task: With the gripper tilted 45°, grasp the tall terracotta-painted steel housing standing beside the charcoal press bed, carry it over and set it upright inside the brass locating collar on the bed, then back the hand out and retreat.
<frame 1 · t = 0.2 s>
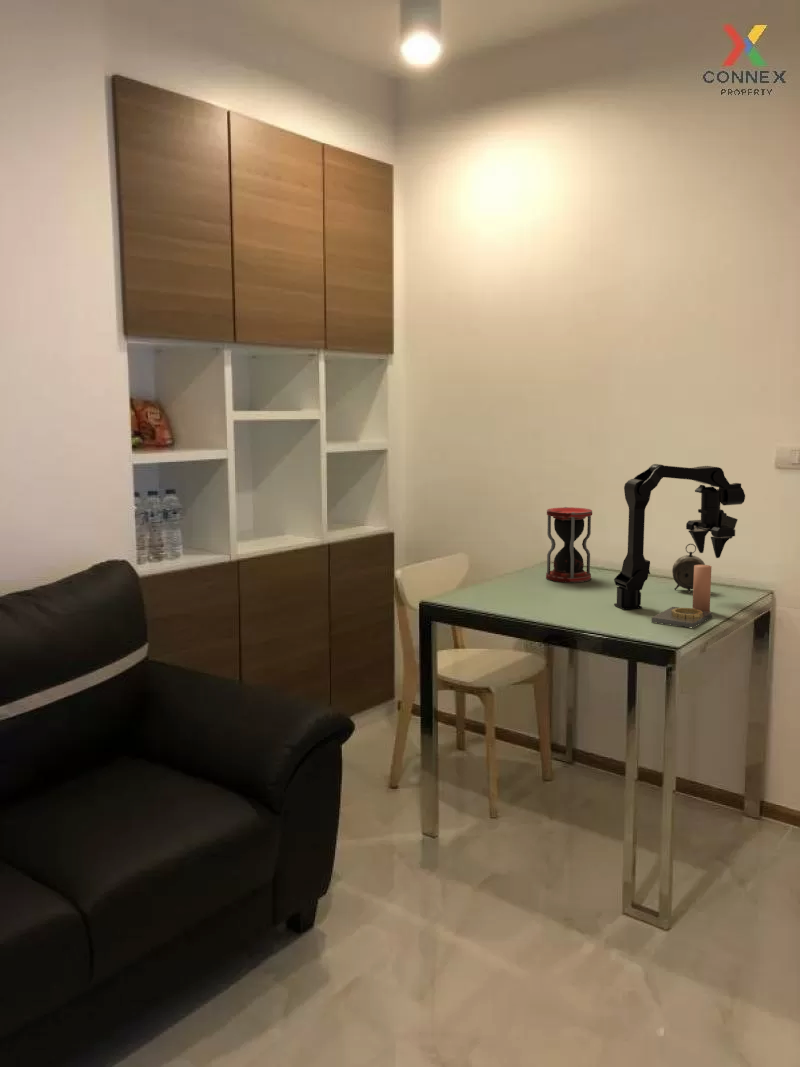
hand: (709, 555, 279), 15 cm above the table, tool pointing down, fingers open, 9 cm apart
alarm clock: (688, 592, 295), on the table
hourglass: (568, 578, 319), on the table
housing: (701, 611, 268), on the table
press bed: (686, 619, 259), on the table
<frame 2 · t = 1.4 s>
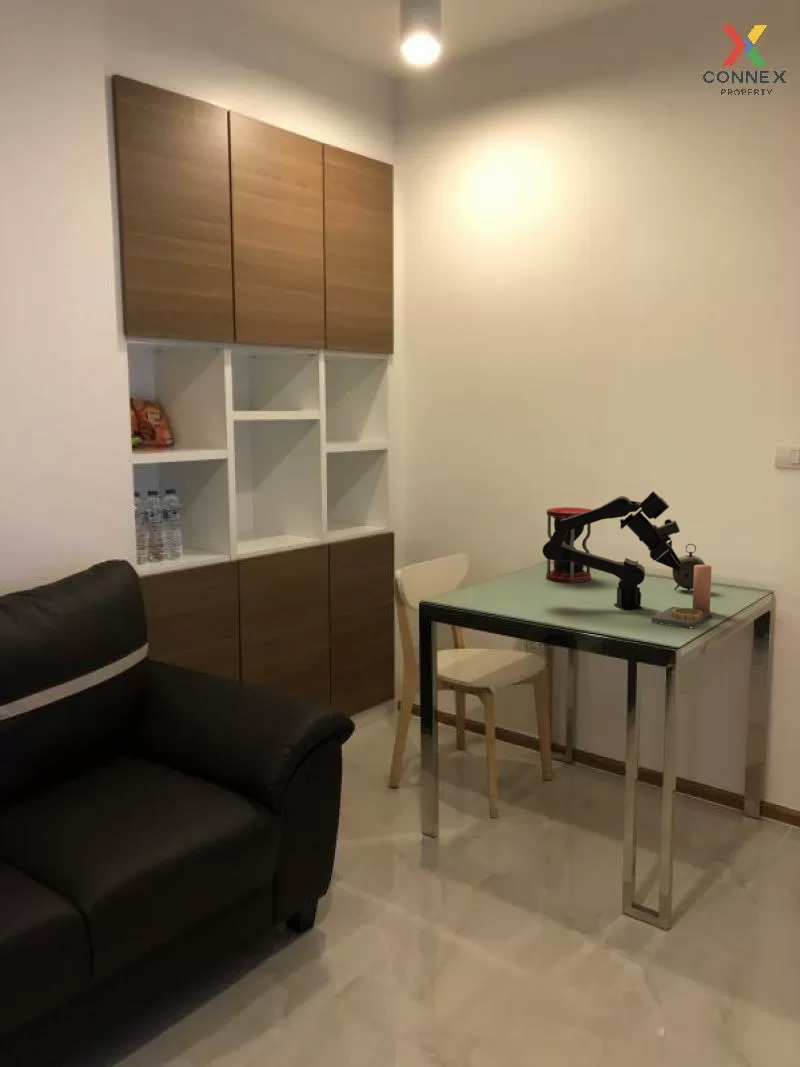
hand: (679, 566, 268), 13 cm above the table, tool tilted 45°, fingers open, 9 cm apart
nothing on the table moved.
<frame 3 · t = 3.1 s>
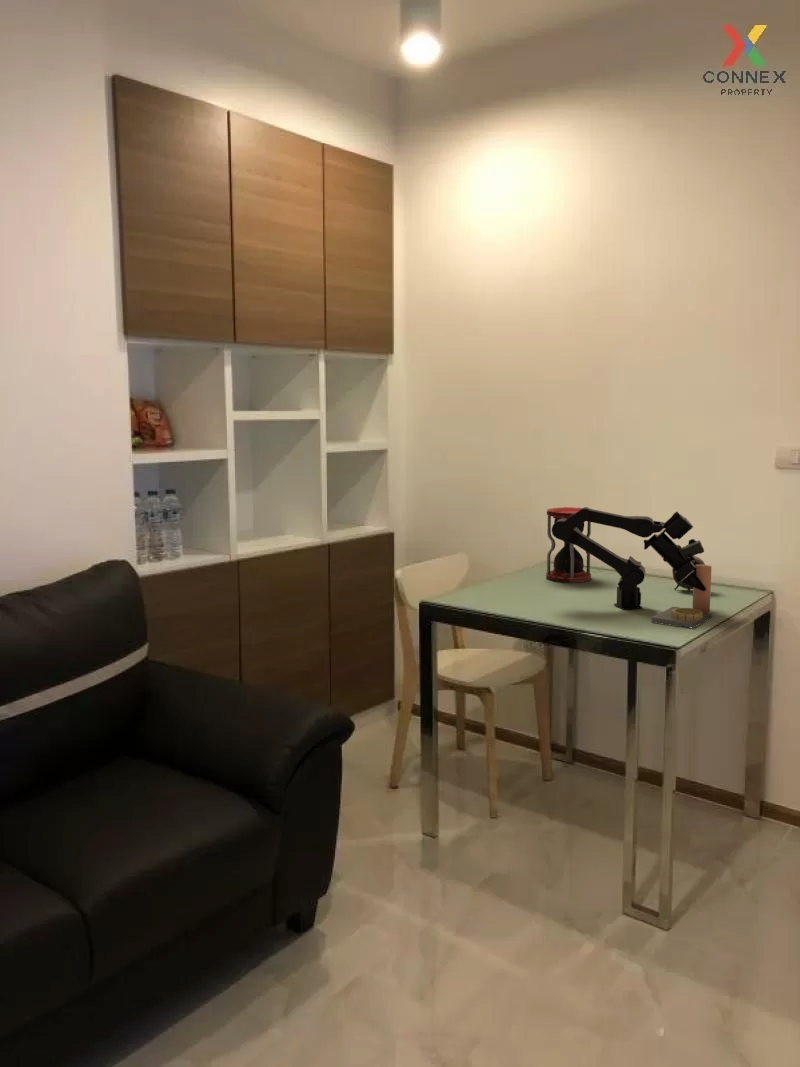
hand: (704, 587, 267), 8 cm above the table, tool tilted 45°, fingers open, 9 cm apart
nothing on the table moved.
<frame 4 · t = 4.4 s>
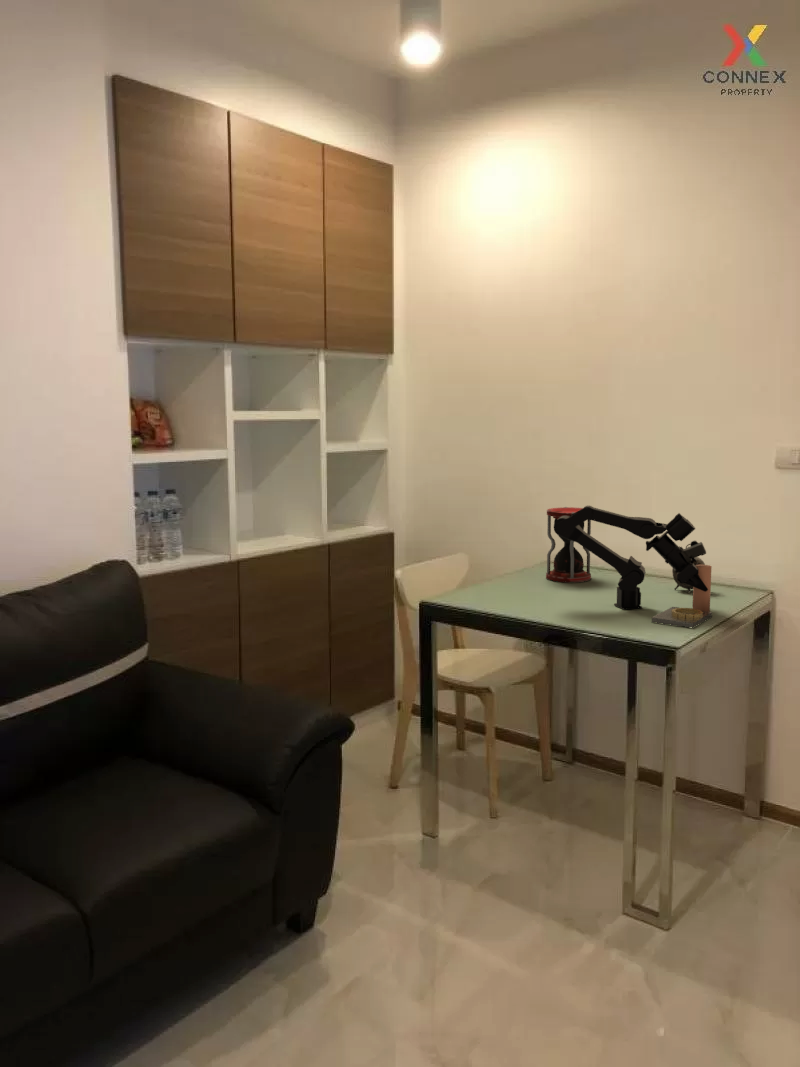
hand: (706, 588, 267), 7 cm above the table, tool tilted 45°, fingers closed on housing, 5 cm apart
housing: (701, 611, 268), on the table, touching gripper
everything else where it was.
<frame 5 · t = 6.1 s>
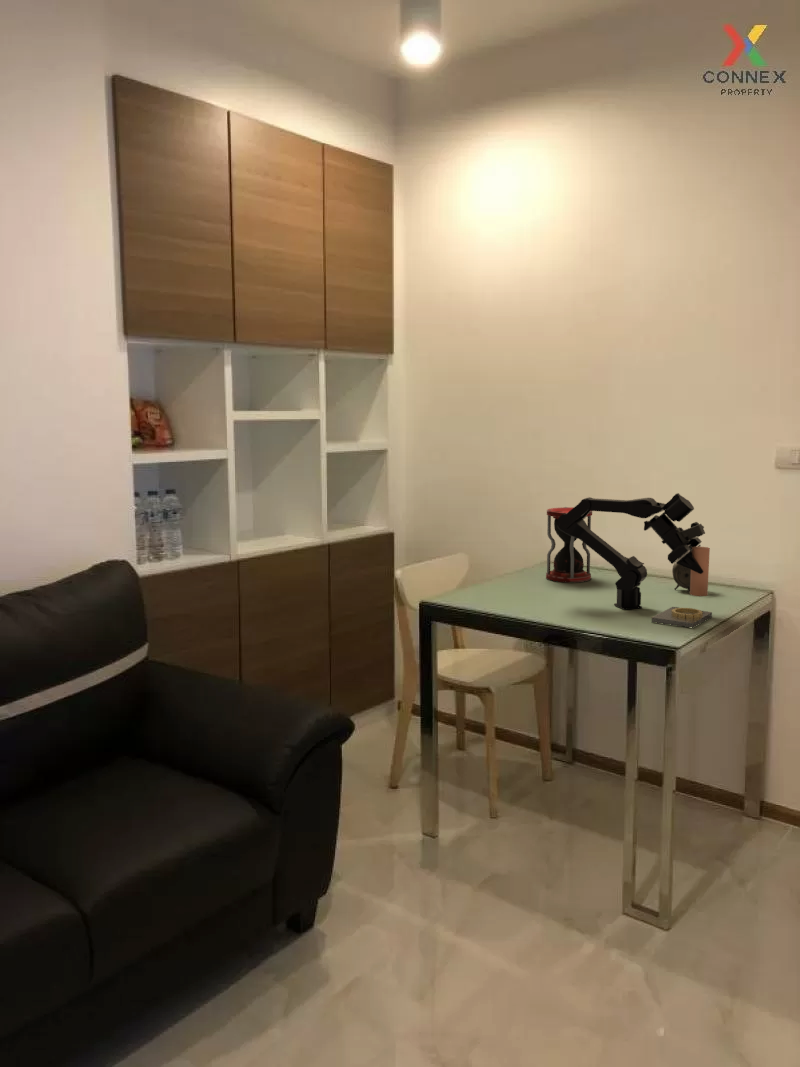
hand: (704, 571, 261), 13 cm above the table, tool tilted 45°, fingers closed on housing, 5 cm apart
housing: (698, 594, 263), point 6 cm above the table, touching gripper
everything else where it was.
when the fingers open (10 cm above the table, at t = 8.2 s): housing drops 1 cm, resting on press bed.
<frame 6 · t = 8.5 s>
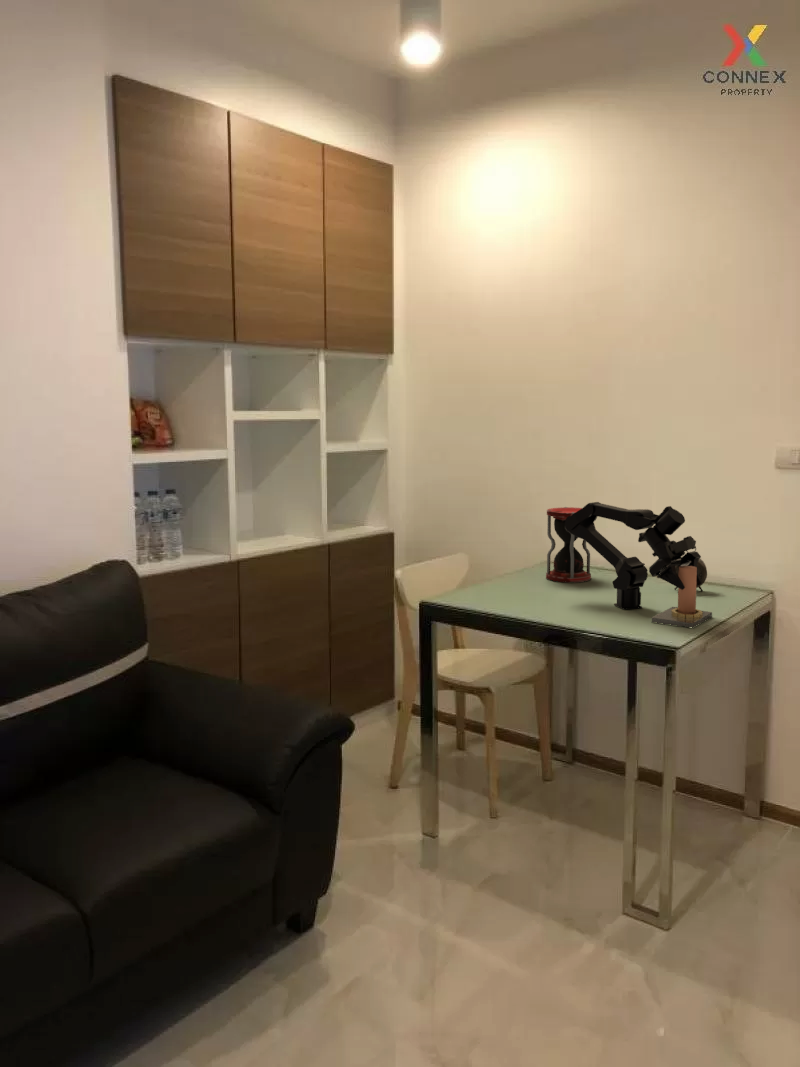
hand: (692, 586, 256), 10 cm above the table, tool tilted 45°, fingers open, 8 cm apart
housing: (686, 614, 259), point 2 cm above the table, touching press bed
everything else where it was.
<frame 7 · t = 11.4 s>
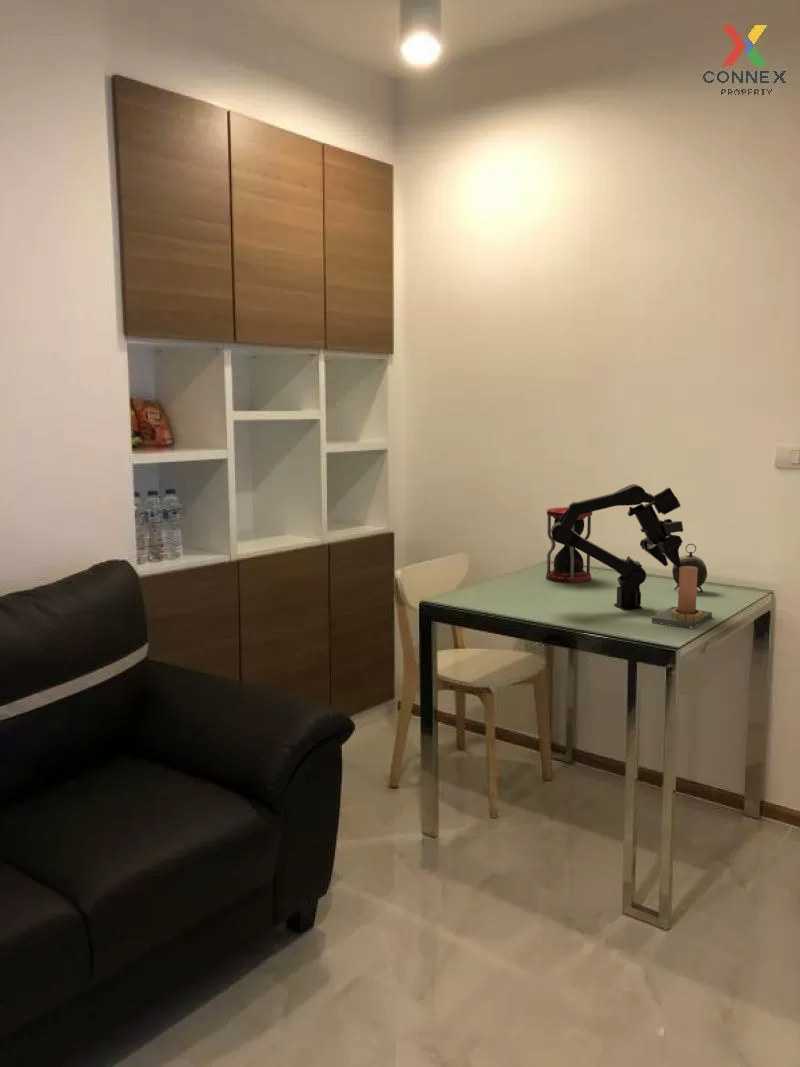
hand: (672, 566, 271), 13 cm above the table, tool tilted 30°, fingers open, 9 cm apart
nothing on the table moved.
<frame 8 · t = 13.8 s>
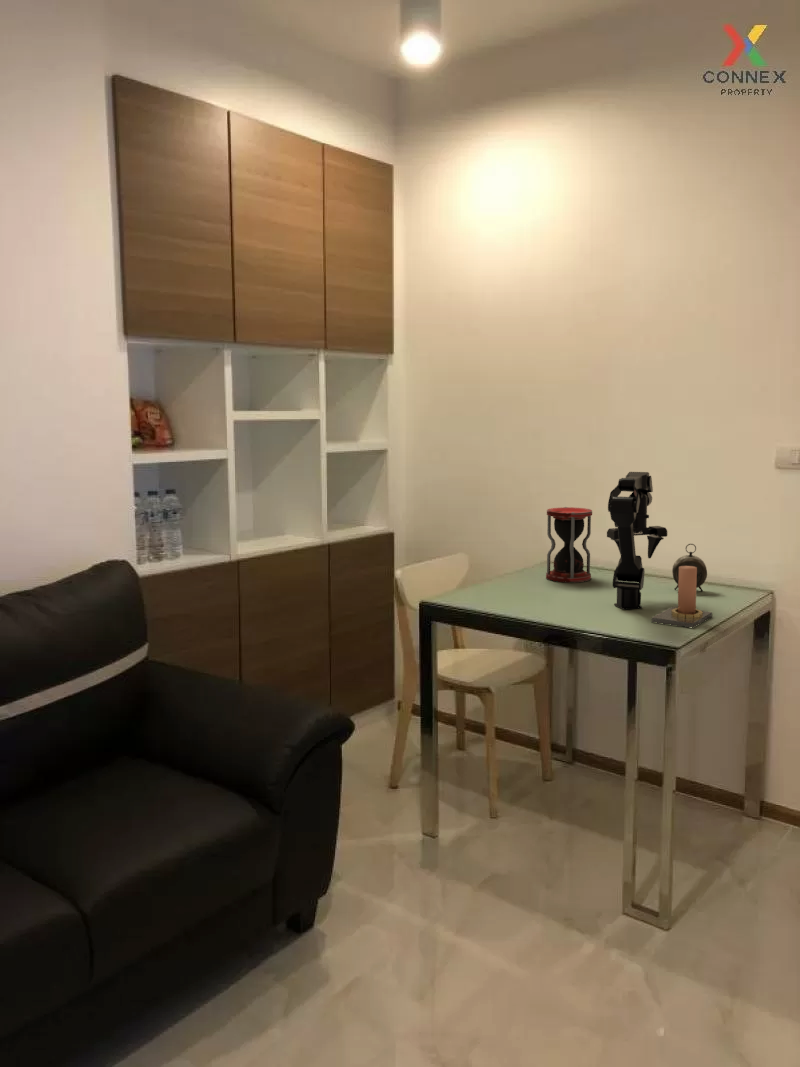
hand: (636, 559, 284), 13 cm above the table, tool pointing down, fingers open, 9 cm apart
nothing on the table moved.
at the end: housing 0.1 cm off-centre on the press bed, point 1.5 cm above the press bed's base; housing tilted 1°; the gripper is holding nothing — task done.
